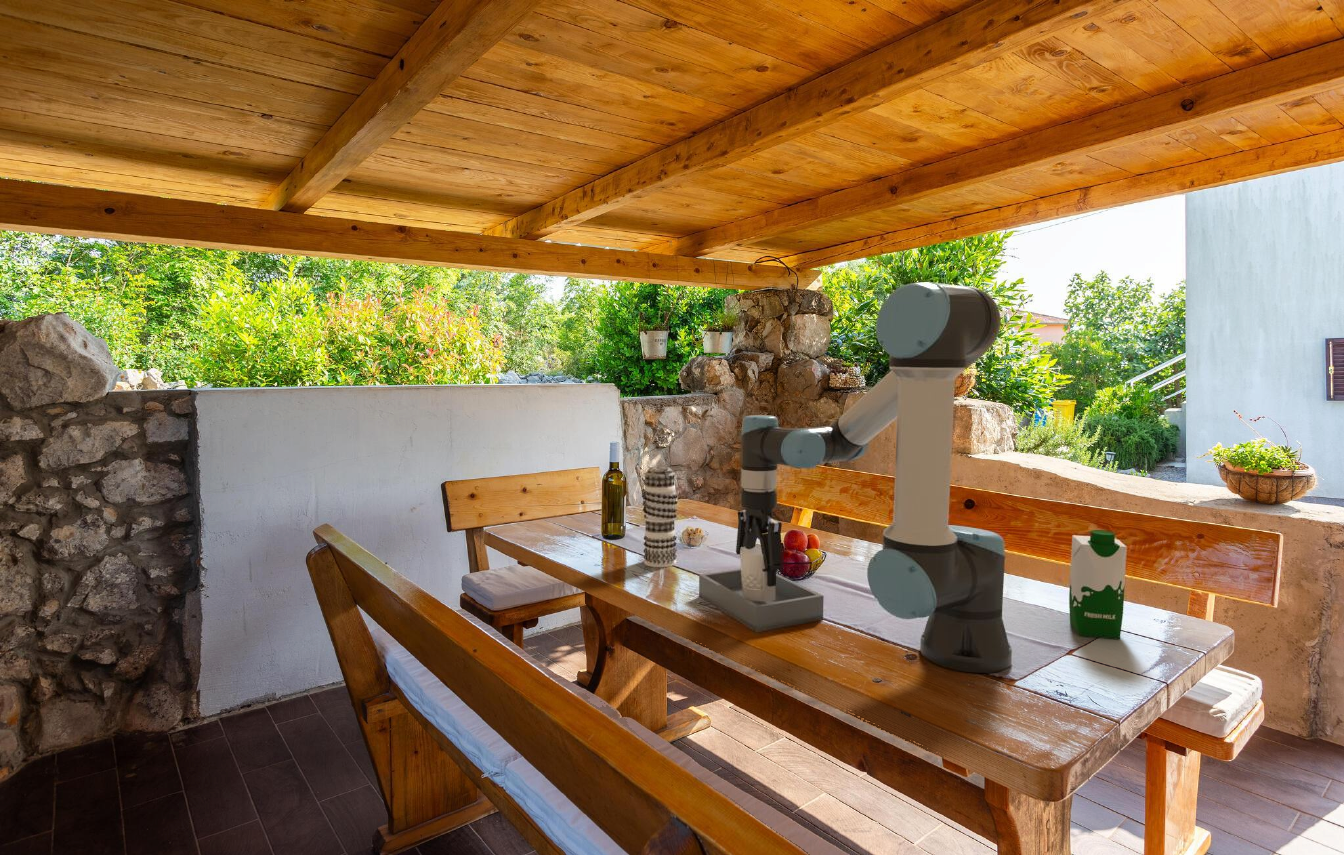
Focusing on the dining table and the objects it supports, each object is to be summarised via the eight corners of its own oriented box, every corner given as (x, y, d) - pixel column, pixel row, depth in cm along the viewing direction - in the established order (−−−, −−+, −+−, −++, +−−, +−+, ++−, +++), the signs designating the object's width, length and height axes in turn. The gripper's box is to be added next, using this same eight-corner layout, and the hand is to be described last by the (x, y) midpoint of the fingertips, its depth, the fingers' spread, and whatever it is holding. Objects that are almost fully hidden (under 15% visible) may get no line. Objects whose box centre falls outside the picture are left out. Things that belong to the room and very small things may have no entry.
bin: (823, 619, 150) (823, 595, 150) (755, 632, 143) (756, 607, 143) (760, 586, 172) (760, 565, 171) (699, 596, 165) (699, 574, 164)
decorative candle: (636, 560, 194) (635, 466, 192) (667, 556, 199) (667, 464, 196) (652, 569, 186) (651, 471, 184) (684, 564, 191) (683, 468, 188)
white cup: (776, 590, 161) (776, 545, 160) (777, 602, 153) (778, 555, 152) (739, 589, 162) (740, 544, 161) (739, 601, 154) (740, 554, 153)
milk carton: (1075, 637, 140) (1080, 533, 138) (1063, 620, 149) (1068, 523, 147) (1127, 641, 138) (1132, 536, 136) (1112, 624, 146) (1117, 526, 145)
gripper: (802, 495, 148) (800, 606, 150) (749, 480, 166) (748, 579, 168) (770, 498, 144) (769, 612, 146) (719, 482, 163) (719, 583, 165)
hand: (758, 594), depth 157 cm, fingers closed on white cup, 7 cm apart
